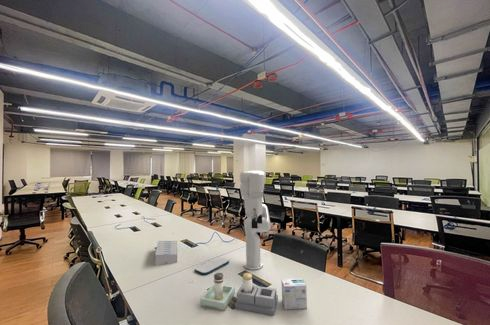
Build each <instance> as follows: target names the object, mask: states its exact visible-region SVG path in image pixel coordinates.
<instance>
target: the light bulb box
mask: <svg viewBox="0 0 490 325" xmlns="http://www.w3.org/2000/svg"><path fill="white" fill-rule="evenodd" d="M280 281H281V298H282V299H281V301H282V306H283V308H284V310H297V309H298V310H299V309H300V310H301V309H308V302H307V301H308V299H307V298H308V297H307V296H308V295H307V284H306V282H305V281H304V279H303V278H300V277H299V278H281V279H280Z"/></svg>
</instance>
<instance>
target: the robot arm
mask: <svg viewBox="0 0 490 325" xmlns="http://www.w3.org/2000/svg"><path fill="white" fill-rule="evenodd" d="M239 182H240V187H239V189H240V194H241V198H242V199H243V201H244V212H245V216H246V217H247V218H245V220H244V222H243V223H244V224H243V225H244V232H245V256H246V257H245V259H246V260H245V262H244V263H243V266H244V268H246V270H251V271H256V270H260V269H261V268H263V267H264V263H263V262H262V261H261V257H262V256H261V239H260V236H259V235H258V233H266V232H270V230H271V219H270V212H269V208H268V206H267V205H266V204H265V203H263V198H264V189H265V184H266V175H265V172H264V171H263V170H248V171H241V172H240V173H239Z"/></svg>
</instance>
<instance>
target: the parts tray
mask: <svg viewBox="0 0 490 325" xmlns="http://www.w3.org/2000/svg"><path fill="white" fill-rule="evenodd" d="M235 295H236V287H235V286H232V285H227V284H223V299H221V300H215V298H214V283H213V284H212V285H211V286H210V287H209V288H208V290H207V291H206V292H205V293H204V295H202V297H201V298H200V306H201V307H202V308H207V309H213V310H218V311H222V312H225V311H226V309H227V308H228V305H229V304H230V303H231V301H232V299H233V298H234V296H235Z"/></svg>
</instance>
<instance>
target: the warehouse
mask: <svg viewBox="0 0 490 325" xmlns="http://www.w3.org/2000/svg"><path fill="white" fill-rule="evenodd" d="M174 263H178V240H158V241H157V245H156V248H155V253H154V266H160V265H166V264H169V265H170V264H174Z"/></svg>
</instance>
